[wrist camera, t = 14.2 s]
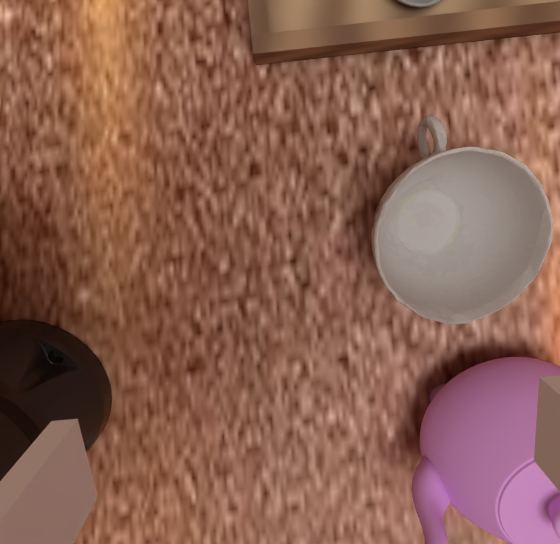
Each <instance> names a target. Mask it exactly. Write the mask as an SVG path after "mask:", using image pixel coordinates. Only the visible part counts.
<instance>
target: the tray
mask: <svg viewBox="0 0 560 544" xmlns="http://www.w3.org/2000/svg"><path fill="white" fill-rule="evenodd" d="M248 9H249V19H250V28H251V38H252V47H253V55H254V59H255V63H256V65H260V64H270V63H279V62H288V61H297V60H307V59H316V58H325V57H334V56H344V55H353V54H362V53H371V52H381V51H390V50H399V49H409V48H418V47H427V46H436V45H446V44H455V43H464V42H473V41H483V40H492V39H501V38H510V37H520V36H529V35H538V34H547V33H557V32H560V0H442V1H440V2H438V3H437V4H435V5H433V6H429V7H423V8H419V7H411V6H408V5H405V4H402V3H400V2H399V1H398V0H248Z"/></svg>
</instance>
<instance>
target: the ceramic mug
mask: <svg viewBox="0 0 560 544" xmlns="http://www.w3.org/2000/svg"><path fill="white" fill-rule="evenodd" d="M398 1H399V2H400V3H402V4H405V5H408V6H411V7H419V8H423V7H429V6H433V5H435V4H437V3H438V2H440V1H442V0H398Z"/></svg>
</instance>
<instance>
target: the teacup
mask: <svg viewBox="0 0 560 544" xmlns="http://www.w3.org/2000/svg"><path fill="white" fill-rule="evenodd" d="M427 127H428V129H429V130H430V132H431V134H432V137H433V139H434V151H433V153H432V154H431V155H430V156H429V148H428V143H427V139H426V131H427ZM417 140H418V146H419V152H420V156H421V160H420V161H418V162H416V163H415V164H413V165H412V166H410V167H409V168H407V169H406V170H405V171H404V172H403V173H401V174H400V175H399V176H398V177H397V178H396V179H395V180H394V181H393V183H392V184H391V185H390V186H389V188H388V189H387V190H386V192H385V193H384V195H383V197H382V198H381V200H380V202H379V205H378V207H377V209H376V212H375V215H374V218H373V224H372V231H371V244H372V252H373V257H374V261H375V264H376V267H377V270H378V272H379V274H380V277H381V279H382V281H383V283H384V284H385V286H386V287H387V289H388V290H389V291H390V292H391V293H392V294H393V295H394V297H395V298H396V299H397V300H398V301H399V302H400V303H402V304H404V305H405V306H406V307H408V308H409V309H411V310H412V311H414V312H416V313H417V314H418V315H420V316H421V317H423V318H426V319H429V320H436V321H438V322H441V323H447V324H451V325H455V324H465V323H469V322H472V321H474V320H477V319H480V318H483V317H485V316H488V315H490V314H492V313H494V312H496V311H498V310H500V309H501V308H503V307H504V306H506V305H507V304H509V303H510V302H512V301H513V300H514V299H515V298H516V297H517V296H518V295H519V294H521V293H522V292H523V291H524V290H525V289H526V287H527V286H528V285H529V284H530V283H531V282H532V281H533V280H534V279H535V277H536V275H537V273H538V272H539V270H540V268H541V266H542V264H543V262H544V260H545V257H546V255H547V253H548V250H549V247H550V245H551V241H552V228H553V224H552V214H551V211H550V207H549V200H548V198H547V197H546V194H545V192H544V190H543V187H542V185H541V183H540V181H539V180H538V179H537V178H536V177H535V176H534V174H533V173H532V172H531V171H530V169H529V168H528V167H527V166H526V164H523V163H522V162H520V161H518V160H516V159H514V158H512V157H511V156H509V155H507V154H505V153H503V152H500V151H498V150H492V149H486V148H481V147H463V148H455V149H451V150H447V149H446V144H447V134H446V129H445V127H444V125H443V123H442V122H441V121H440V120H438V119H437V118H436V117H435V116H431V115H429V116H425V117H424V118H423V119H422V120H421V121H420V123H419V125H418V135H417Z"/></svg>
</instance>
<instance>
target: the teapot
mask: <svg viewBox="0 0 560 544" xmlns="http://www.w3.org/2000/svg"><path fill="white" fill-rule="evenodd" d="M549 376H560V367H559V366H557V365H555V364H552V363H550V362H547V361H543V360H539V359H535V358H528V357H506V358H499V359H494V360H490V361H487V362H484V363H481V364H478V365H475V366H473V367H471V368H469V369H467V370H465V371H463V372H462V373H460V374H458V375H457V376H455V377H454V378H453V379H451V380H450V381H449V382H448V383H447V384H440V385H438V386H436V387H434V388H433V389H432V391H431V392H430V396H429V400H430V402H431V403H430V404H429V406H428V408H427V410H426V412H425V415H424V417H423V421H422V424H421V431H420V450H421V456H422V460H421V461H420V463H419V465H418V466H417V468H416V470H415V473H414V476H413V479H412V495H413V501H414V504H415V508H416V511H417V514H418V517H419V520H420V523H421V525H422V529H423V533H424V537H425V544H449V542H448V537H447V534H446V530H445V527H444V524H443V514H444V511H445V510H446V508H447V507H448V506H449V504H451V505H452V506H453V507H454V508H455V509H456V510H457V511H458V512H460V513H461V514H462V515H463V516H464V517H465V518H467V519H468V520H469V521H471V522H472V523H474V524H475V525H477V526H478V527H480V528H481V529H483V530H485V531H487V532H488V533H490V534H492V535H494V536H496V537H498V538H500V539H502V540H504V541H505V542H507V543H509V544H560V491H559V490H558V489H557V488H556V487H555V485H554V484H553V483H552V482H551V481H550V479H549V478H548V477H547V476H546V475H545V473H544V472H543V471H542V470H541V469H540V467H539V466H538V465H537V464H536V463H535V461H534V449H535V435H536V420H537V406H538V391H539V377H549Z"/></svg>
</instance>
